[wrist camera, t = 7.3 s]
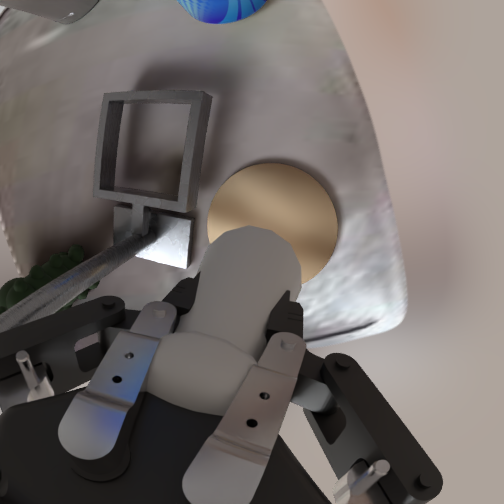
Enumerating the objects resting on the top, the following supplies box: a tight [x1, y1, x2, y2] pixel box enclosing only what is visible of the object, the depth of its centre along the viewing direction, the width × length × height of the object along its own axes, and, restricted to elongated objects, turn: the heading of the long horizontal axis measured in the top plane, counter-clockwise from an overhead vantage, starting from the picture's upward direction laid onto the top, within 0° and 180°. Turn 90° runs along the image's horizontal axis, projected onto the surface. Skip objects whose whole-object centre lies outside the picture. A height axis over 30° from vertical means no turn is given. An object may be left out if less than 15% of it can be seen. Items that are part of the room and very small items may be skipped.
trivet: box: [207, 163, 338, 284], centre depth 26 cm, size 12×12×1 cm
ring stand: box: [0, 90, 213, 333], centre depth 16 cm, size 17×10×22 cm, turn 170°
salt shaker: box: [146, 225, 302, 416], centre depth 12 cm, size 6×6×13 cm
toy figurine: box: [0, 244, 100, 315], centre depth 25 cm, size 9×19×25 cm
